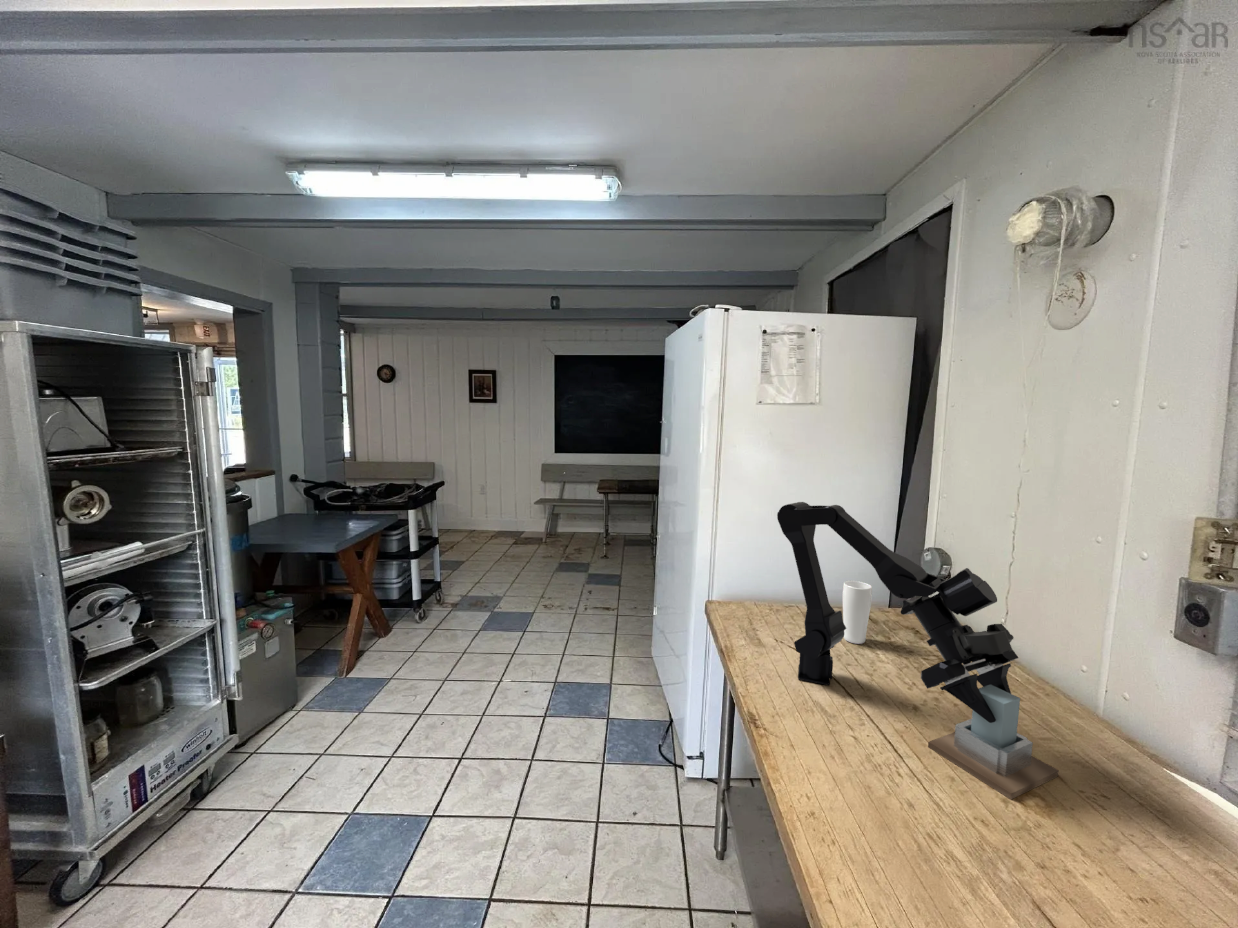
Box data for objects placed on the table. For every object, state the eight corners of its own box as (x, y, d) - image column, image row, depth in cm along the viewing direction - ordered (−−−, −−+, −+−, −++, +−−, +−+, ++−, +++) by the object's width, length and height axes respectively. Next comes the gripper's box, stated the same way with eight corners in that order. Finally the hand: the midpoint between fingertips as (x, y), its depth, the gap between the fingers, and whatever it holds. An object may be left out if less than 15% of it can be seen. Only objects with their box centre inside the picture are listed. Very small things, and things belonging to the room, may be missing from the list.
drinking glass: (835, 634, 132) (838, 580, 131) (859, 634, 133) (862, 580, 131) (848, 646, 125) (852, 589, 124) (874, 645, 126) (877, 588, 124)
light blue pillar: (997, 767, 80) (1004, 703, 79) (969, 750, 85) (974, 689, 84) (1014, 760, 82) (1020, 697, 81) (985, 743, 86) (990, 684, 85)
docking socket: (1010, 799, 75) (1013, 768, 74) (928, 746, 87) (930, 720, 86) (1058, 775, 80) (1061, 747, 80) (974, 729, 92) (976, 704, 92)
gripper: (943, 616, 81) (1013, 717, 72) (1010, 601, 88) (1081, 691, 79) (896, 642, 89) (953, 736, 80) (961, 626, 96) (1020, 710, 87)
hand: (1004, 717), depth 81 cm, fingers open, 6 cm apart
